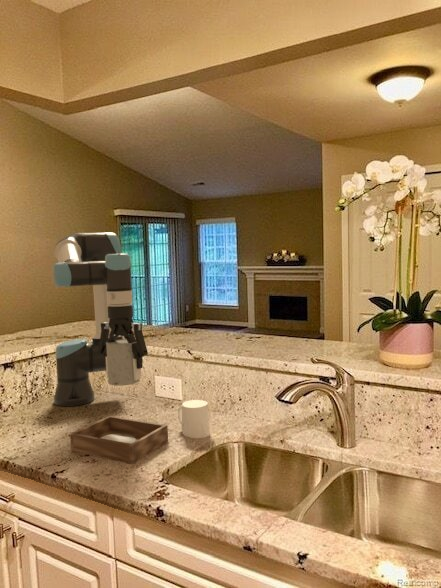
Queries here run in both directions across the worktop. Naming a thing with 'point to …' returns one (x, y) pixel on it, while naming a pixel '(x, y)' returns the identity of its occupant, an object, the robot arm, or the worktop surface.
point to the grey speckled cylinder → (120, 363)
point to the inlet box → (119, 439)
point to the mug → (194, 418)
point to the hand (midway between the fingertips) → (123, 377)
